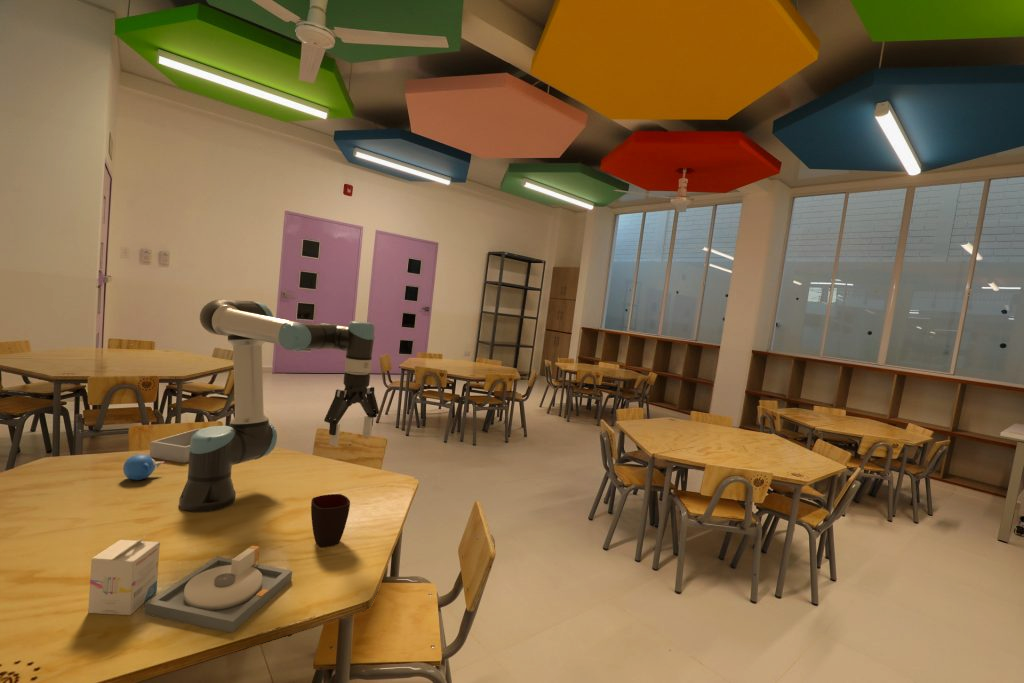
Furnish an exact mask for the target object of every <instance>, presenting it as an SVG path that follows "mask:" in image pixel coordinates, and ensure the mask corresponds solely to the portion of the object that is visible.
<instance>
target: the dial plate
mask: <svg viewBox="0 0 1024 683" xmlns="http://www.w3.org/2000/svg"><path fill="white" fill-rule="evenodd" d="M232 559H233V558H229V557H226V556H225V557H224V556H219V555H218V556H215V557H213V558H212V559H211V560H209V561H208V562H206V563H205V564H202V566H200V567H198V568H197V569H196V570H194V571H192V572H191V573H189V574H187V575H185V576H184V577H183V578H181V579H180V580H178V581H177V582H175V583H174V584H172V585H170V586H169V587H167V588H165V590H163V591H162V592H161V591H160V592H159V593H158V594H156V595H155V596H153V597H152V598H149V599H148V600H146V601H145V602H144V612H143V613H144V615H147V616H151V617H158V618H162V619H165V620H171V621H175V622H180V623H183V624H189V625H194V626H196V627H197V626H198V627H203V628H208V629H212V630H217V631H222V632H226V633H231V634H233V633H234V632H235V631H237V629H238V628H240V627H241V626H242V625H243V624H244V623H245V622H246V621H247V620H248V619H250V618H251V617H252V616H253V615H254V614H255V613H256V612H257V611H258V610H260V609H261V608H262V607H263V606H264V605H265V604H267V602H269V600H271V599H272V598H273V597H274V596H275V595H277V593H279V592H280V591H281V590H282V589H283V588H284V587H286V586H287V585H288V584H289V583H290V582H291V581H292V576H293V575H292V574H293V570H290V569H285V568H280V567H275V566H271V565H270V566H269V565H265V564H260V563H258V562H257V563H255V564H253V565H252V566H251V567H254V568H256V569H258V570H259V571H260V572H261V574H262V586H261V589H260V590H259V592H258V593H257V594H256V595H255V596H253V597H252V598H251V599H249V600H247V601H245V602H243V603H241V604H239V605H236V606H233V607H229V608H225V609H219V610H203V609H198V608H193V607H190V606H189V605H187V604H186V603H185V601H184V588H185V586H186V584H187V583H188V581H189V580H191V579H192V578H193V577H194V576H196V575H198V574H200V573H202V572H204V571H206V570H209V569H212V568H216V567H220V566H226V565H231V564H232Z"/></svg>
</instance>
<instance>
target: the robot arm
mask: <svg viewBox="0 0 1024 683" xmlns="http://www.w3.org/2000/svg"><path fill="white" fill-rule="evenodd" d="M199 322H200V324H201V326H202V328H204V330H205V331H207V332H208V333H211V334H214V335H218V336H224V337H226V336H227V342H228V343H230V344H231V345H232V347H233V348H232V349H233V350H232V351H233V352H232V353H233V354H232V356H233V383H234V384H233V387H234V391H233V393H234V417H233V419H231V420H230V422H229V425H217V426H215V425H213V426H208V427H203V428H200V429H201V430H198V431H197V432H195V433H194V434H193V436H192V437H191V442H190V446H189V450H190V454H189V461H188V470H187V480H186V482H185V484H184V487H183V489H182V492H181V494H180V497H179V499H178V500H179V501H178V502H179V503H178V506H179V508H180V509H181V510H184V511H187V512H195V513H203V512H211V511H212V512H213V511H218V510H222V509H225V508H228V507H230V506H231V505H233V504H234V503H235V502H236V494H237V493H236V490H235V488H234V483H233V480H232V468H233V466H234V465H238V464H241V463H245V462H250V461H254V460H259V459H260V458H263V457H266V456H268V455H269V454H271V452H272V451H273V450H274V449H275V447H276V445H277V441H278V434H277V433H278V432H277V429H275V426H274V425H273V424H272V423H270V421H269V417H267V416H266V415H265V413H264V385H263V384H264V380H263V378H264V377H263V376H264V375H263V349H262V348H263V347H262V346H263V344H265V343H268V344H269V343H270V344H275V345H279V346H282V348H283V349H285V350H287V351H288V350H289V351H295V352H296V351H307V350H308V351H310V350H339V351H345V364H344V373H343V385H344V389H343V390H342V389H339V388H337V389H336V390H335V393H334V397H333V399H332V402H331V404H330V406H329V409H328V411H327V413H326V415H325V416H324V419H323V421H324V422H325V423H328V424H329V427H328V428H329V429H328V434H329V443H328V445H330V446H333V447H338V446H339V441H340V440H339V439H340V431H341V430H340V427H341V424H340V423H339V422H340V421H341V419H342V417H343V416H344V414H345V413H346V412H347V410H348V409H349V407H351V406H352V405H354V404H355V405H356V404H357V403H358V404H360V406H361V408H362V409H363V411H364V413H365V414H366V415H364V416H363V419H364V420H363V428H362V429H363V430H362V437H364V438H368V439H371V437H372V427H373V426H374V418H377V416H378V415H379V414H380V411H379V406H378V402H377V399H376V398H377V397H376V394H375V387H374V386H370V382H371V381H370V380H371V375H370V373H371V368H372V360H373V358H372V357H373V348H374V342H375V325H374V324H373V323H372V322H369V321H368V322H367V321H366V322H365V321H358V320H351V321H350V322H349V323H348V326H346V325H340V324H339V325H338V324H334V323H329V322H327V323H326V322H325V323H323V322H322V323H319V324H318V323H302V322H299V321H298V322H297V321H293V320H289V319H284V318H278V317H274V315H273V313H272V311H271V309H270V308H269V307H268V306H267V305H266V304H264V303H262V302H257V301H254V300H253V301H251V300H235V299H222V298H221V299H215V300H211V301H210V302H208V303H207V304H205V305H204V306H203V307H202V308H201V310H200V313H199Z"/></svg>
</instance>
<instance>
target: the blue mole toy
mask: <svg viewBox="0 0 1024 683" xmlns="http://www.w3.org/2000/svg"><path fill="white" fill-rule="evenodd" d="M165 463H166V462H165V461H156V460H155V458H154V459H153V458H152V457H150V455H149V454H145V453H140V454H134V455H132V456H130V457H129V458H128V459H127V460H126V461H125V462H124V464H123V466H122V467H123V468H122V470H123V475H124V476H125V477H126V478H128V479H129V480H133V481H140V480H143V479H146V478H148V477H150V476H151V475H152V474H153V473H154V471H155V470H156V469H157V468H159V467H160V466H162V465H164V464H165Z"/></svg>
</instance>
